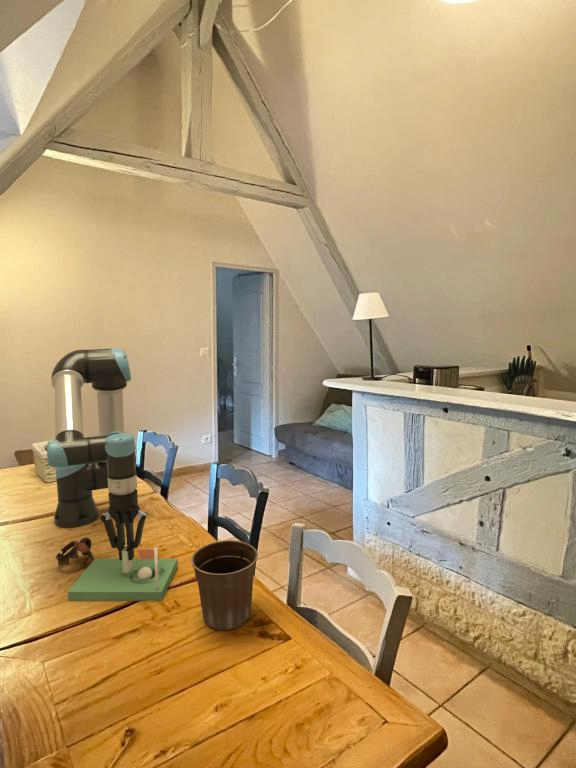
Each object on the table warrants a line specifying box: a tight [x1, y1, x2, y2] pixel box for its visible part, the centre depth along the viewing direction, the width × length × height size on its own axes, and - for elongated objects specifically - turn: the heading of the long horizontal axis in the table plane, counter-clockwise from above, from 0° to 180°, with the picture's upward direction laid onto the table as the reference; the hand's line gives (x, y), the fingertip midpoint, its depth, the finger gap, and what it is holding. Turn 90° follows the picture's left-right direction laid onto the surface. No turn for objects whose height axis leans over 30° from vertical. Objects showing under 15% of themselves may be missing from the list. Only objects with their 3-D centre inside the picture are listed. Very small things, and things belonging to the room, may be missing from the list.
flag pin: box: [138, 547, 159, 590], centre depth 123 cm, size 1×5×14 cm, turn 89°
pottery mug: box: [55, 536, 95, 567], centre depth 141 cm, size 12×10×8 cm
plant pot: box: [190, 539, 259, 631], centre depth 115 cm, size 16×16×16 cm
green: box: [67, 558, 179, 602], centre depth 131 cm, size 25×17×2 cm
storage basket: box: [31, 439, 57, 483], centre depth 221 cm, size 24×16×15 cm
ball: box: [137, 567, 153, 580], centre depth 130 cm, size 4×4×4 cm
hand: (127, 570), depth 130 cm, fingers closed
